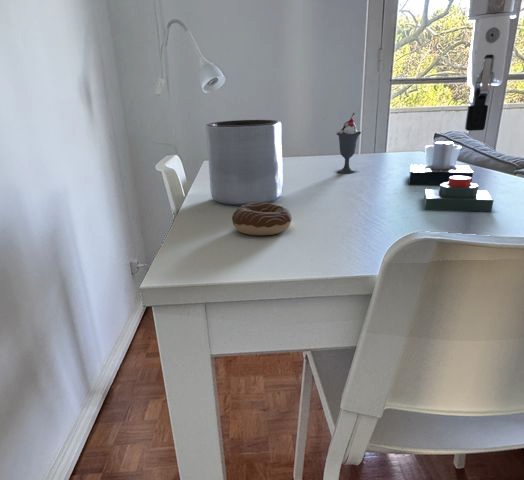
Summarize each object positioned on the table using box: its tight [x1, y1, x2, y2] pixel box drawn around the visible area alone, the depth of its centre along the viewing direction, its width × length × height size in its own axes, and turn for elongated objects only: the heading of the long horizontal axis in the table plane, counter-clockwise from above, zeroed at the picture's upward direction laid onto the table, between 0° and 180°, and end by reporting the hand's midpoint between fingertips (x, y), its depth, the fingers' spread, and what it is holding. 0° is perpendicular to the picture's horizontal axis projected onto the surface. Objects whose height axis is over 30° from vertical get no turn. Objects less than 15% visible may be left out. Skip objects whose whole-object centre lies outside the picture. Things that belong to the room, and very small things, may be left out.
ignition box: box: [423, 182, 494, 213], centre depth 93 cm, size 12×9×4 cm
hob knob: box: [431, 140, 454, 170], centre depth 113 cm, size 4×4×6 cm
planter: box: [205, 119, 284, 206], centre depth 102 cm, size 16×16×16 cm
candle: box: [425, 144, 462, 166], centre depth 126 cm, size 9×9×6 cm
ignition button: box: [448, 176, 472, 187], centre depth 92 cm, size 4×4×2 cm
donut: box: [231, 202, 293, 237], centre depth 82 cm, size 11×11×4 cm
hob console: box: [408, 164, 474, 186], centre depth 116 cm, size 14×10×3 cm
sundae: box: [335, 112, 362, 174], centre depth 129 cm, size 7×7×15 cm
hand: (474, 129), depth 87 cm, fingers closed
